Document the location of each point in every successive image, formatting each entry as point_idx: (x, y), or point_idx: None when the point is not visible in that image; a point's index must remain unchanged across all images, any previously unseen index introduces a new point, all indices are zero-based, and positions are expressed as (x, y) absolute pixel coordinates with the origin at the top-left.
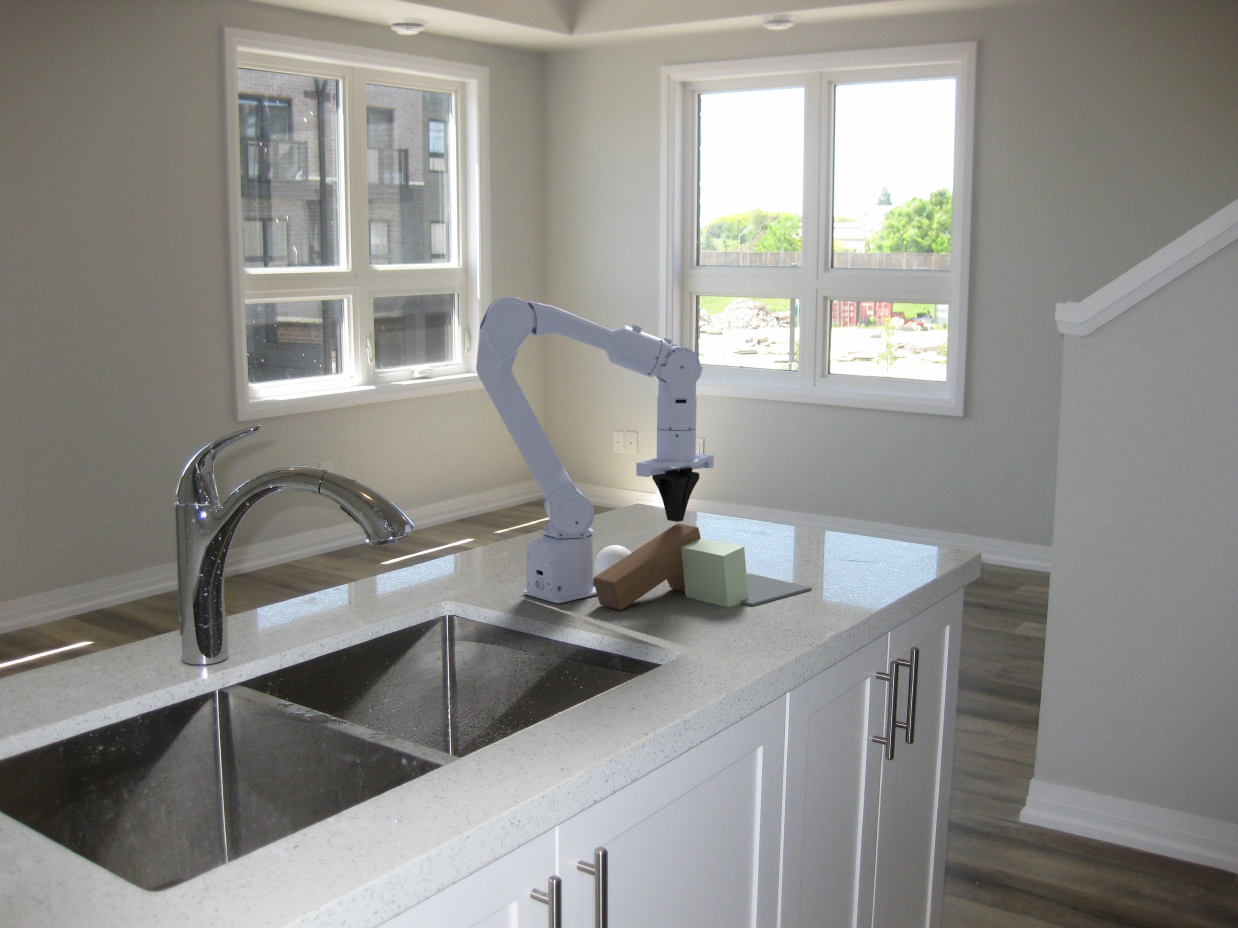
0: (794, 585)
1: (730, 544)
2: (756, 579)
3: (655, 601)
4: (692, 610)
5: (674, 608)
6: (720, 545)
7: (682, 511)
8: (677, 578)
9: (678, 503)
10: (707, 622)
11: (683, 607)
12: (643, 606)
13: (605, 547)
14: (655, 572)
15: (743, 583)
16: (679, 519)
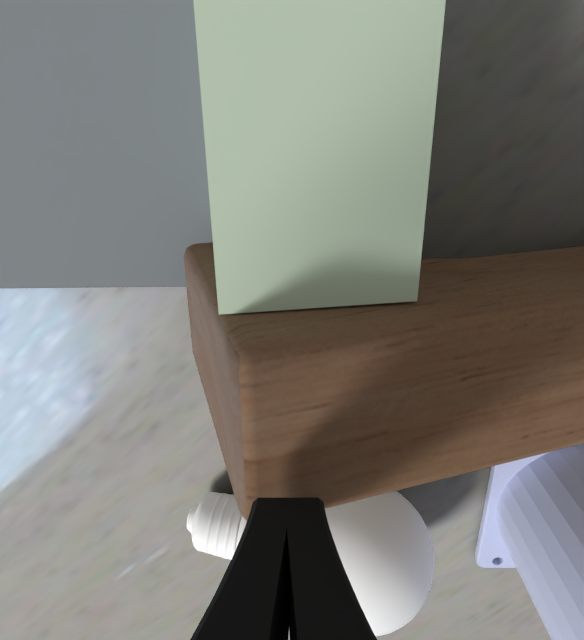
0: None
1: (207, 5)
2: None
3: (475, 256)
4: (495, 50)
5: (515, 130)
6: (270, 70)
7: (279, 548)
8: None
9: (356, 618)
10: None
11: (479, 115)
12: (564, 234)
13: (389, 632)
14: (571, 266)
15: None
16: (300, 506)
